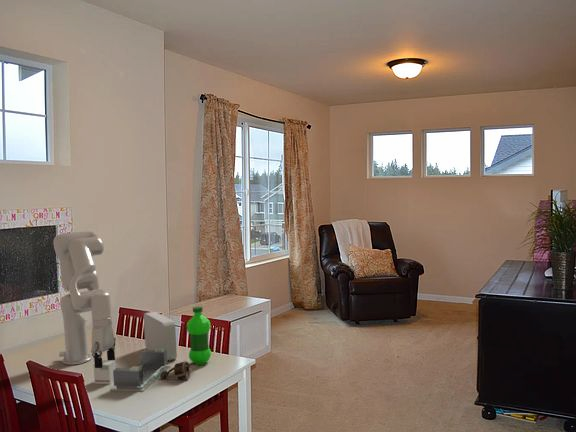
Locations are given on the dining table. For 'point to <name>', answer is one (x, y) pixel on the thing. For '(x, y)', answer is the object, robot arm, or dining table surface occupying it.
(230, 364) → the dining table surface
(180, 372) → the brown antique clock
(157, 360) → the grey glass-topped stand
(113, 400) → the dining table surface
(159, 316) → the rounded white slab
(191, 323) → the plastic bottle
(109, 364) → the block
